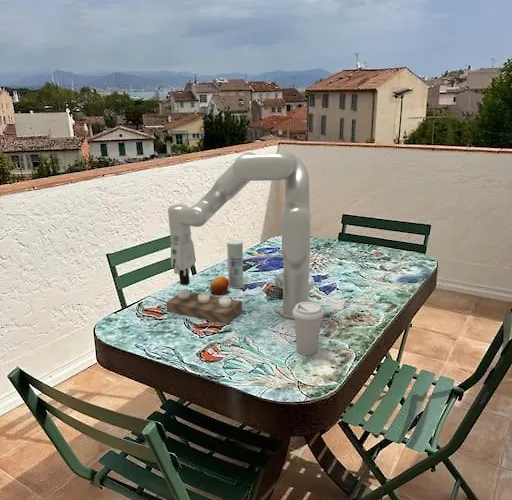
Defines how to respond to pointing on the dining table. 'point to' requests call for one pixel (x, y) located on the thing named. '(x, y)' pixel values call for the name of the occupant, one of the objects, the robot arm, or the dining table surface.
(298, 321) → the coffee cup
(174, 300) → the mount
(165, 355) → the dining table surface
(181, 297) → the knob far
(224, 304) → the knob near
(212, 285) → the fruit
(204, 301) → the knob mid
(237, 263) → the spray can
